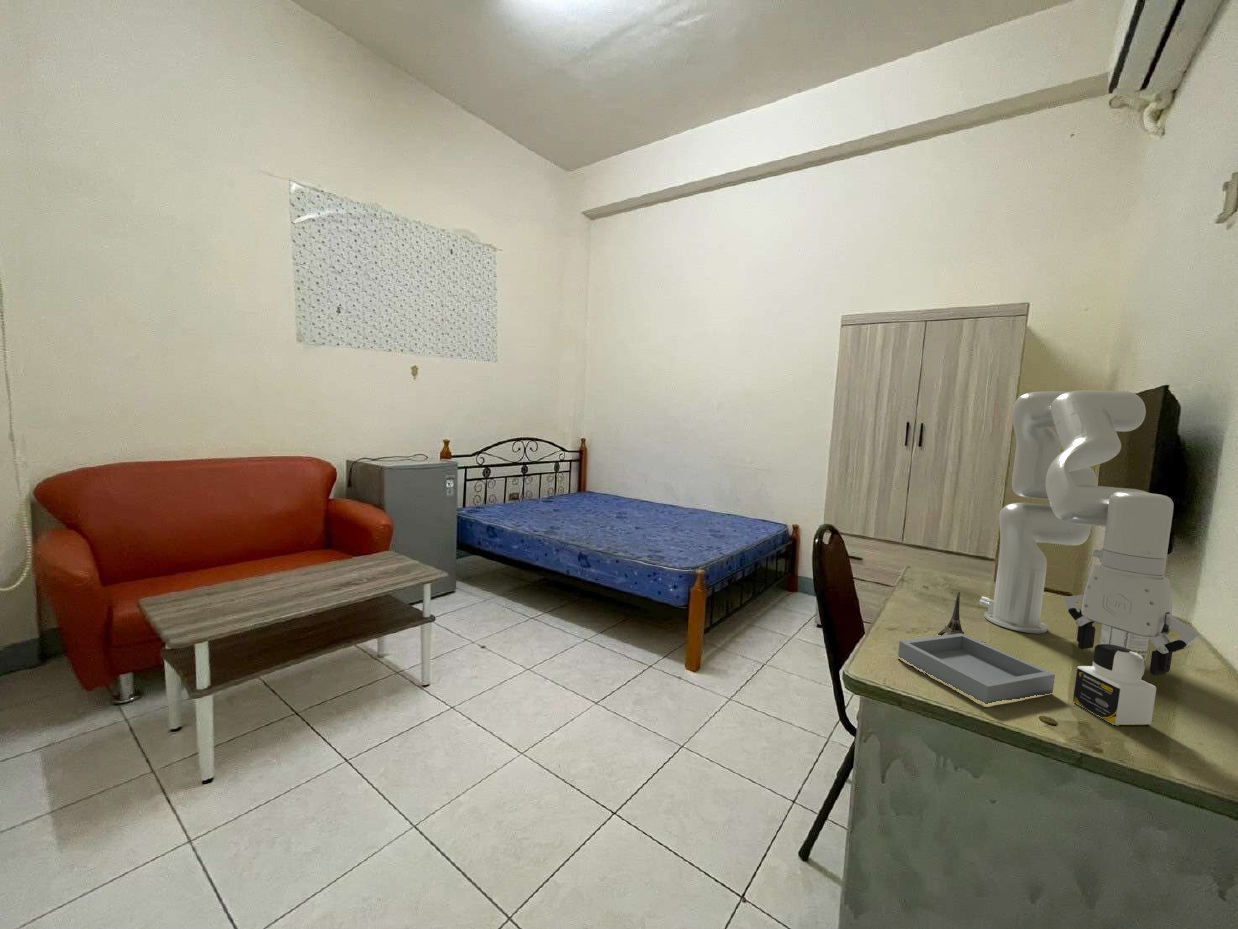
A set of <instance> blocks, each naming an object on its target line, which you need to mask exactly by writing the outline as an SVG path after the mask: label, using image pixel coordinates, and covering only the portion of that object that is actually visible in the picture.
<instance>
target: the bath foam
mask: <svg viewBox="0 0 1238 929" xmlns="http://www.w3.org/2000/svg"><path fill="white" fill-rule="evenodd" d="M1099 637H1100V638H1099V644H1111V645H1117V646H1121V647H1124V648H1127V649H1130V650H1132V651H1134V652H1136V653H1138V654H1139V655H1141V656H1142V657H1143V658H1144V665H1143V672H1142V677H1143V676H1144V674H1145V669H1146V668H1145V667H1146V662H1147V656H1148V650H1149V642H1150V639H1149V638H1148V637H1142V636H1138V635H1135V634H1131V633H1128V632H1125V631H1122V630H1118V629H1115V628H1112V627H1109V626H1106V625H1103V624H1101V631H1100V636H1099ZM1099 644H1098V645H1099Z"/></svg>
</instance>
